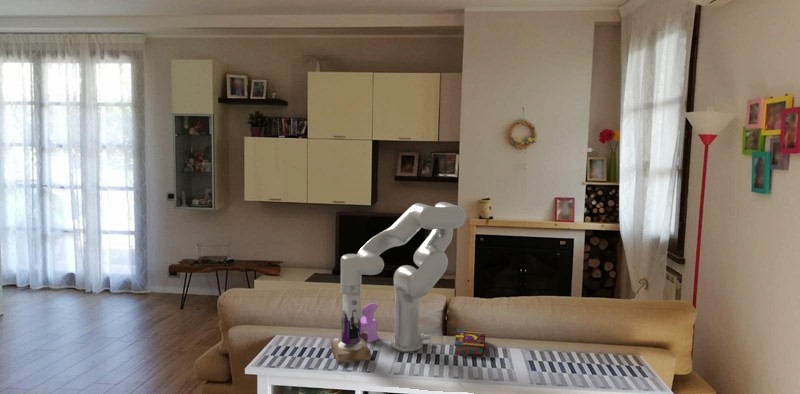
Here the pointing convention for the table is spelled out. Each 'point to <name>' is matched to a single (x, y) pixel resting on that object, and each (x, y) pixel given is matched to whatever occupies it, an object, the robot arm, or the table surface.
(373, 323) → the toy chair
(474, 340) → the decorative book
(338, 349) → the base
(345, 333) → the beverage can
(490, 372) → the table surface
